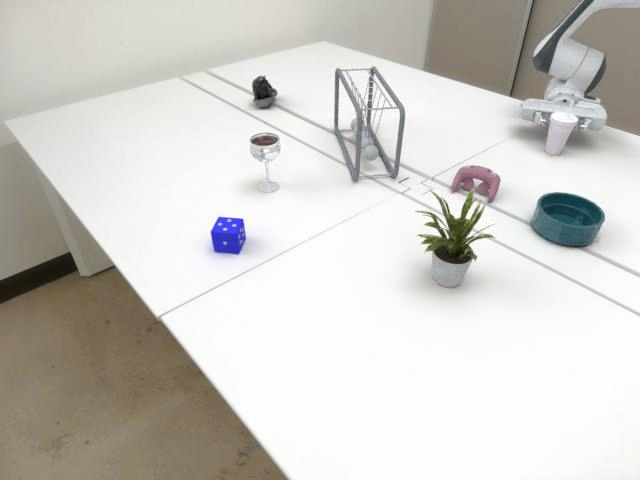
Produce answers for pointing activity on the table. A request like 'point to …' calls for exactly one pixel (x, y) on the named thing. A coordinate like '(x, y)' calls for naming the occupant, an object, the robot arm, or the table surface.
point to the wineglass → (266, 155)
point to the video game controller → (480, 173)
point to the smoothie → (560, 130)
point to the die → (228, 235)
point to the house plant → (453, 243)
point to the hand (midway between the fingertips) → (562, 126)
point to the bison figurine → (263, 92)
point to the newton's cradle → (358, 124)
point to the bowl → (567, 218)
